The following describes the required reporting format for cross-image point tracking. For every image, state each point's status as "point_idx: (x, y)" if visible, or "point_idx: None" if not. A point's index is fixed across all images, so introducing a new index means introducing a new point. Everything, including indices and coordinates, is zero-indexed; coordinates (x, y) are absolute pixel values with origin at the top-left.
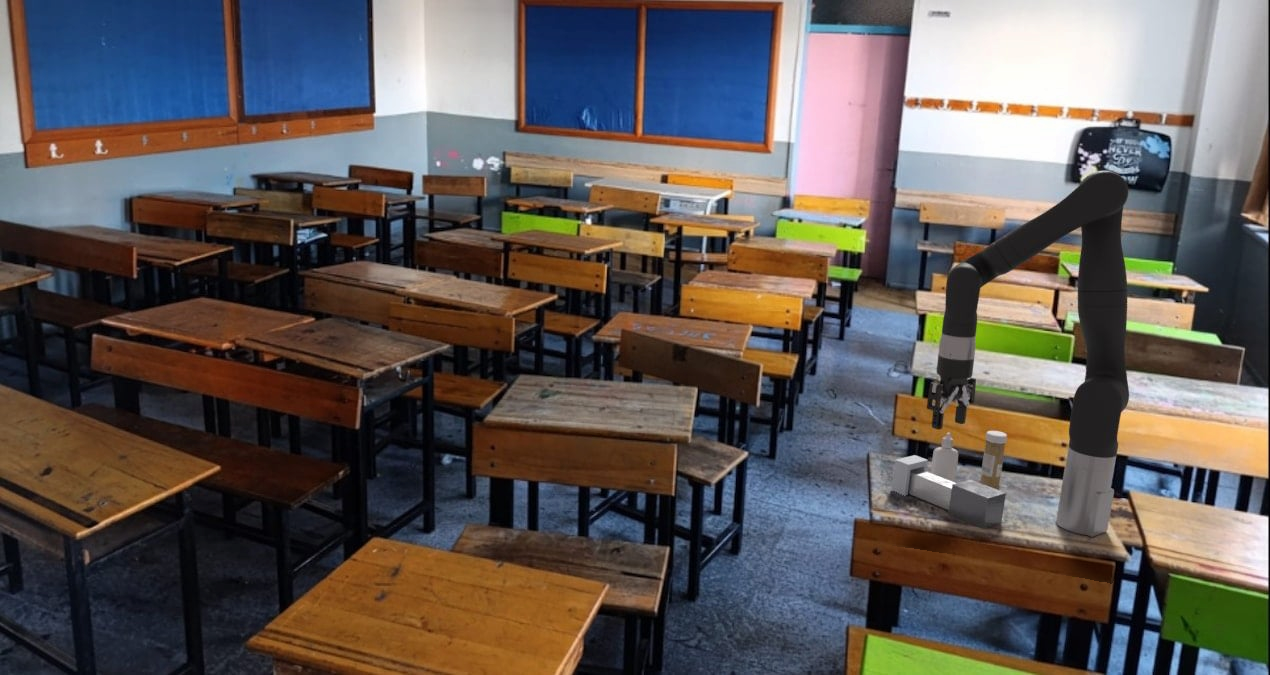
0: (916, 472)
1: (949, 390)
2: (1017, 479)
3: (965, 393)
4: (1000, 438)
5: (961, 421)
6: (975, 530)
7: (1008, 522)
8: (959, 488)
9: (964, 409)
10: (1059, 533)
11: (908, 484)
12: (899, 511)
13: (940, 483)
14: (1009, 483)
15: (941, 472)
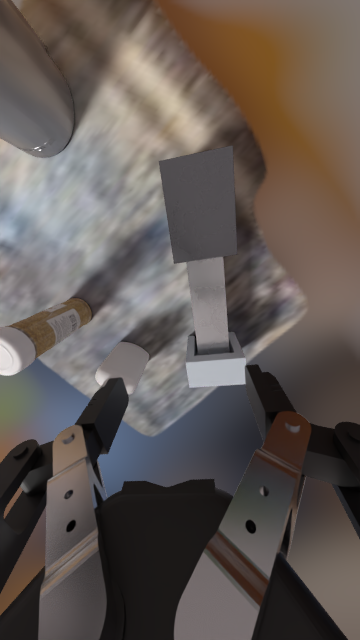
0: (218, 348)
1: (287, 627)
2: (13, 319)
3: (66, 525)
4: (5, 334)
5: (119, 386)
6: (242, 174)
7: (154, 182)
8: (235, 234)
9: (96, 420)
10: (96, 95)
11: (230, 339)
12: (293, 290)
13: (221, 292)
14: (36, 312)
15: (138, 356)
